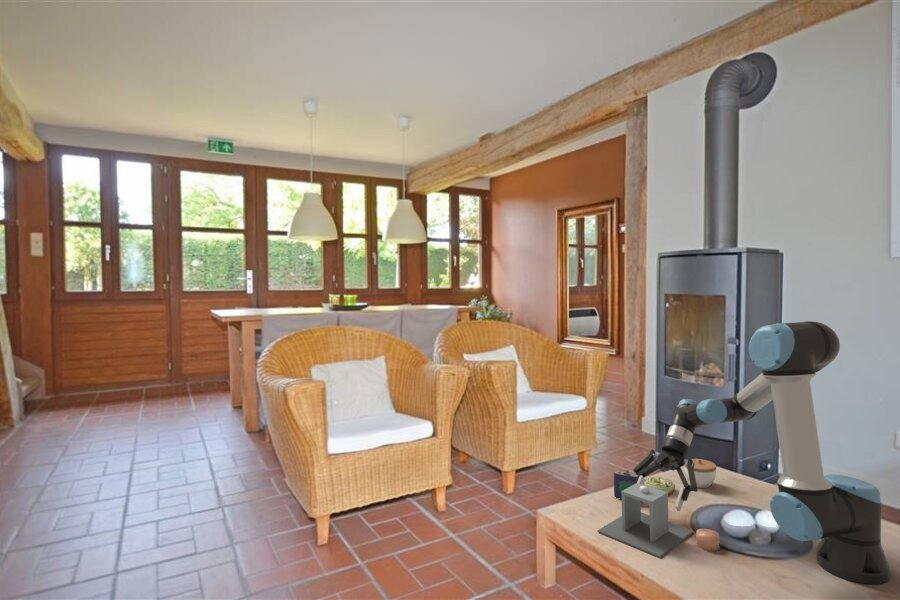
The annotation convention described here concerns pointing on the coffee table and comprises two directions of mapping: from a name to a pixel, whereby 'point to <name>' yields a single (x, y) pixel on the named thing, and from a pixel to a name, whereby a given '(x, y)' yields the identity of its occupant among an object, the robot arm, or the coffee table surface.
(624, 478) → the flask
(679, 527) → the mat
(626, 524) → the grey arch stand
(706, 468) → the lidded jar
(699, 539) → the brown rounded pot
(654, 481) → the decorated donut
